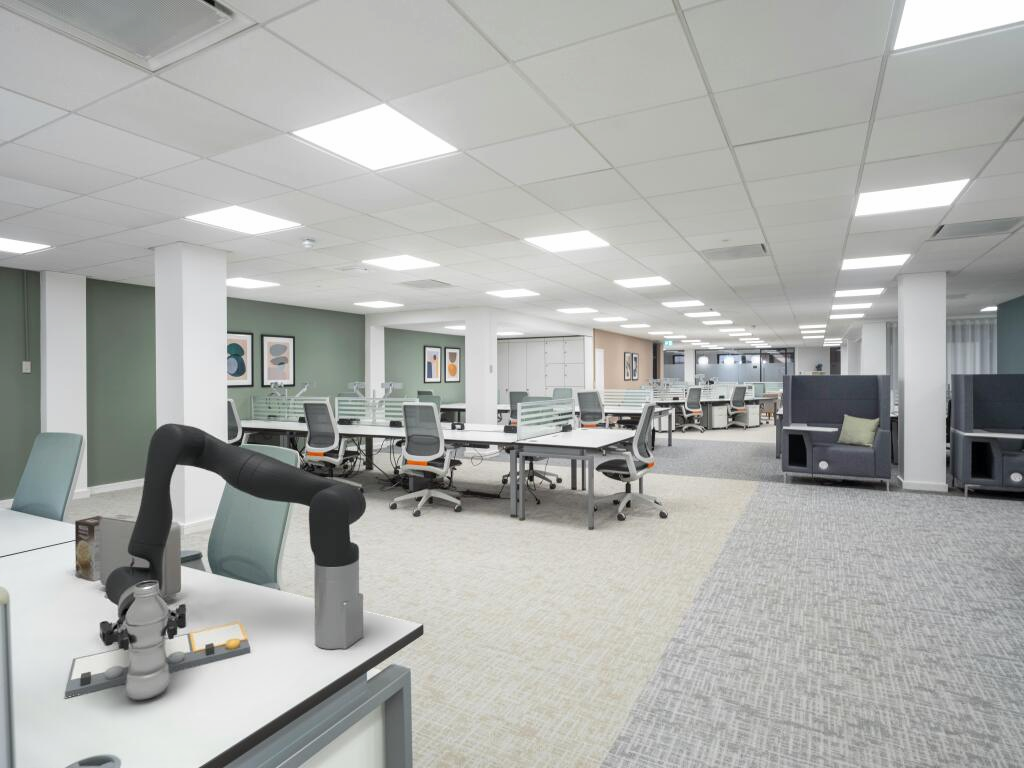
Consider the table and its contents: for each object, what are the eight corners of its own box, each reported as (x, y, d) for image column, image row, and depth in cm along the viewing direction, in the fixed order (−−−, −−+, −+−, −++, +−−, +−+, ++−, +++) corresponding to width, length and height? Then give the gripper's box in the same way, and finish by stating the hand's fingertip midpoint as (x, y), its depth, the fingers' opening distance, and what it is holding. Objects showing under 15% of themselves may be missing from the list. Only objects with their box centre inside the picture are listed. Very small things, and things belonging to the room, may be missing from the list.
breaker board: (240, 627, 128) (240, 615, 128) (250, 652, 116) (250, 640, 116) (73, 664, 111) (72, 651, 111) (65, 698, 99) (64, 684, 99)
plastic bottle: (138, 685, 103) (136, 578, 103) (177, 683, 104) (175, 576, 104) (117, 706, 97) (114, 591, 97) (158, 704, 98) (156, 590, 97)
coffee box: (74, 576, 160) (73, 520, 159) (98, 569, 166) (98, 515, 165) (93, 581, 156) (92, 524, 156) (117, 574, 162) (117, 518, 161)
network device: (91, 594, 147) (90, 518, 146) (124, 583, 155) (124, 511, 154) (158, 610, 137) (157, 528, 137) (191, 597, 145) (190, 519, 145)
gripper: (96, 597, 107) (98, 629, 94) (182, 580, 116) (196, 607, 103) (96, 636, 107) (98, 673, 94) (183, 617, 116) (196, 648, 103)
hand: (149, 638), depth 98 cm, fingers closed on plastic bottle, 6 cm apart
